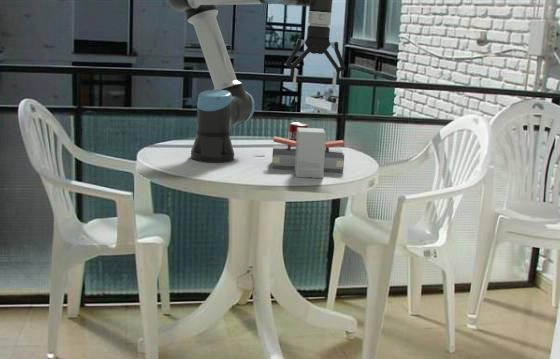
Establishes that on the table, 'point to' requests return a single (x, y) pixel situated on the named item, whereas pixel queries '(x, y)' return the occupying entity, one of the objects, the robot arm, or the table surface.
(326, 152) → the switch unit
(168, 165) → the table surface
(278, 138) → the left rocker
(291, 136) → the soda can
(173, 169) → the table surface
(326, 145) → the right rocker
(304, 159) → the supplement box
